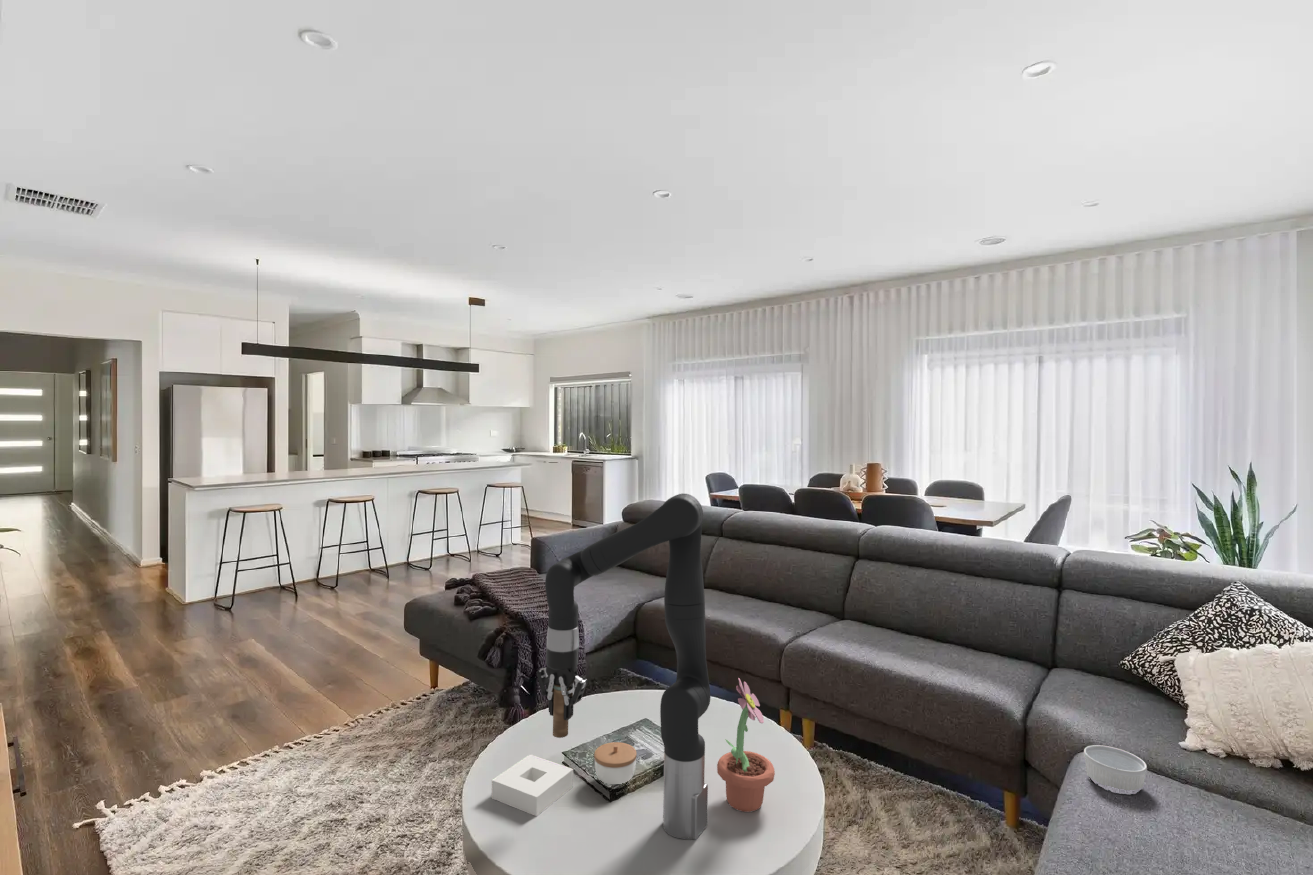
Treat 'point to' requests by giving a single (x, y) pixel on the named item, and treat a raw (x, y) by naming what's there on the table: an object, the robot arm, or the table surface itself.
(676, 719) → the robot arm
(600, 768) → the lidded jar
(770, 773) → the decorative flower
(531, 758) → the socket block
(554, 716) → the walnut dowel
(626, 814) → the table surface
